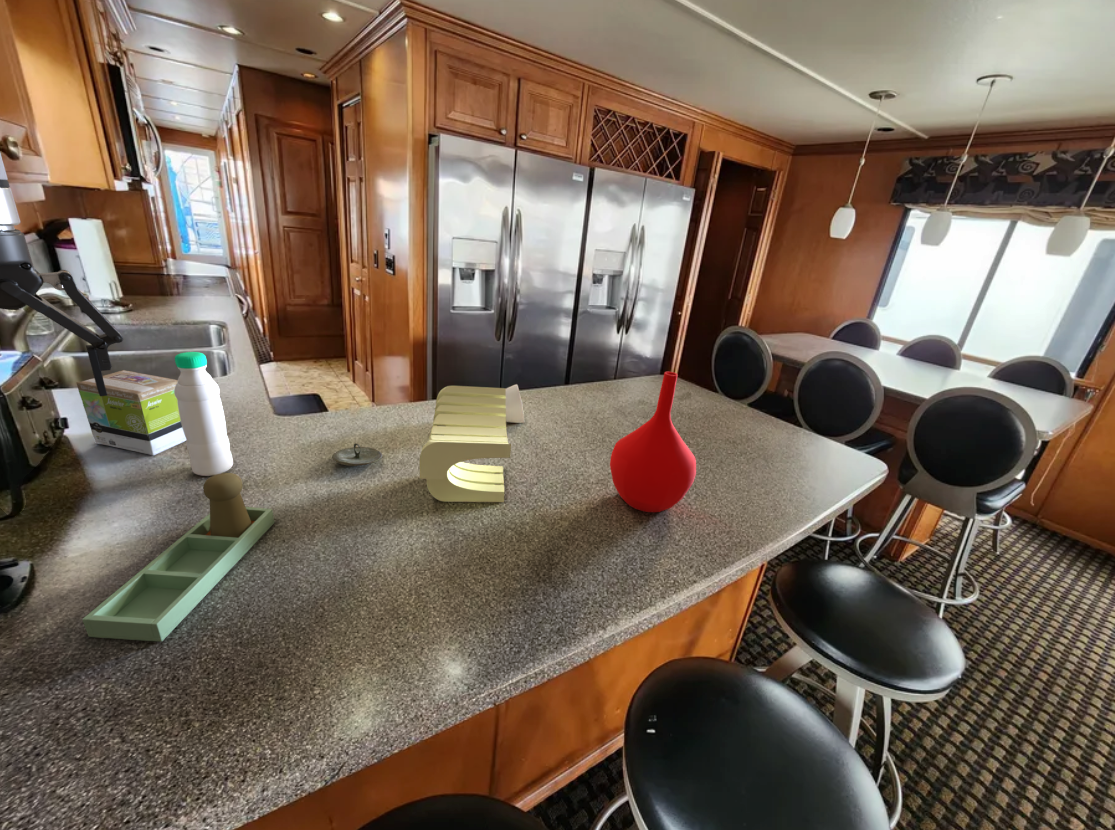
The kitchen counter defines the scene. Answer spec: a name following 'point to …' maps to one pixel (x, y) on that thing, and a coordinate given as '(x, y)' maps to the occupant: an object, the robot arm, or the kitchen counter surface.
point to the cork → (226, 505)
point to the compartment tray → (173, 582)
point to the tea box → (133, 412)
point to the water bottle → (202, 416)
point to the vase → (654, 459)
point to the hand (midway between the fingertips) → (29, 401)
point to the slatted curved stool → (466, 445)
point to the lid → (357, 456)
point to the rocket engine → (514, 405)
